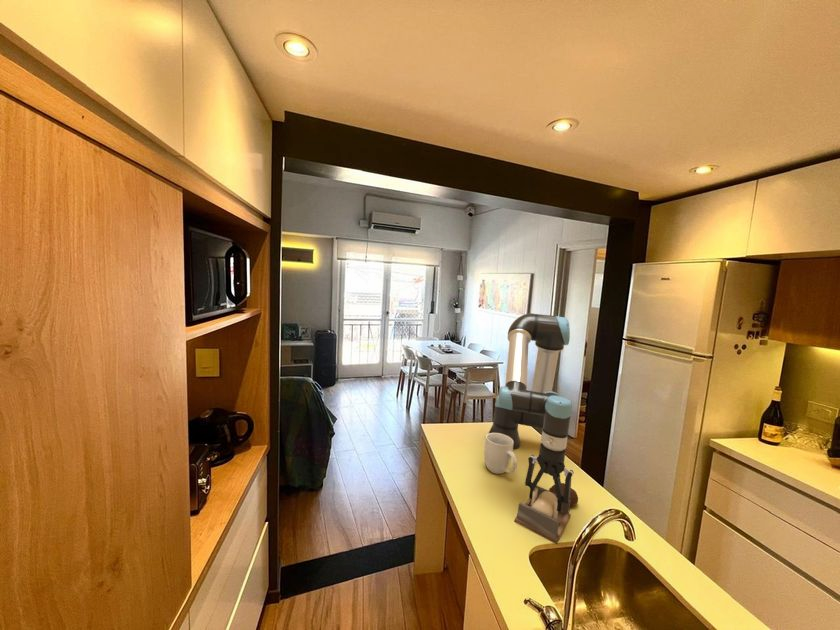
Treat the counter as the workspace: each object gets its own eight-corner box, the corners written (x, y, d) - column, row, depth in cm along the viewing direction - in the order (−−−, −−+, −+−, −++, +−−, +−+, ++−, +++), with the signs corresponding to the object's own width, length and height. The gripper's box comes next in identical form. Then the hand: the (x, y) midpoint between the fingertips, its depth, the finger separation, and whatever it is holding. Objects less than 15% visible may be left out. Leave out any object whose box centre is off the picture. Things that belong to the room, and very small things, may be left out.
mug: (523, 478, 131) (527, 446, 130) (503, 485, 125) (508, 452, 124) (495, 459, 144) (499, 430, 142) (476, 465, 137) (480, 435, 136)
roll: (539, 505, 114) (540, 488, 114) (558, 512, 110) (558, 494, 110) (529, 520, 106) (530, 501, 106) (549, 528, 102) (549, 509, 102)
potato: (581, 511, 114) (584, 492, 114) (551, 508, 114) (554, 489, 114) (572, 498, 121) (575, 480, 121) (544, 495, 121) (546, 477, 121)
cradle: (531, 498, 119) (533, 482, 118) (570, 516, 111) (572, 499, 110) (514, 521, 106) (516, 503, 105) (556, 543, 98) (559, 524, 98)
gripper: (519, 438, 109) (510, 505, 111) (583, 462, 97) (572, 535, 100) (527, 431, 115) (519, 495, 117) (588, 453, 103) (578, 522, 106)
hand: (543, 513), depth 108 cm, fingers open, 6 cm apart
